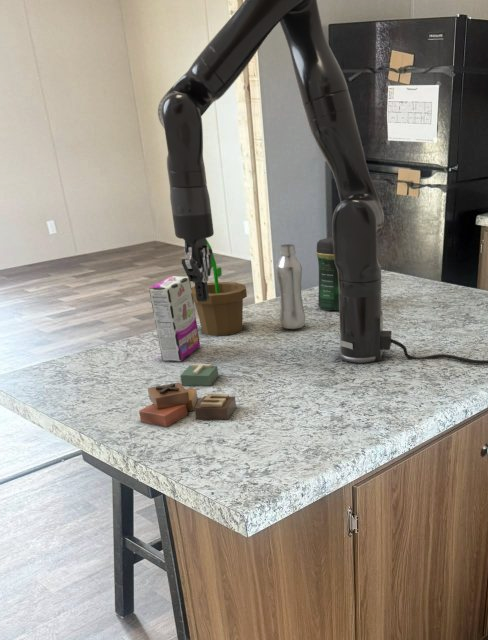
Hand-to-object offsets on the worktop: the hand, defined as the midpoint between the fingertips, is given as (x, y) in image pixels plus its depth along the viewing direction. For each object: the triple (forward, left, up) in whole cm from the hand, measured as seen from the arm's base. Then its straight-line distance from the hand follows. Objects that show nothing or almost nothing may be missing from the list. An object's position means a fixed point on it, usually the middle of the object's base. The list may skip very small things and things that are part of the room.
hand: (203, 300), depth 146 cm
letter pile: (0, +25, -15) cm, 29 cm away
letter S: (-9, +25, -15) cm, 30 cm away
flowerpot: (+6, -29, -15) cm, 33 cm away
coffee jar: (-20, -52, -15) cm, 57 cm away
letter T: (0, +8, -15) cm, 17 cm away
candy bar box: (+10, -9, -15) cm, 20 cm away
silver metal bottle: (-12, -31, -15) cm, 36 cm away
